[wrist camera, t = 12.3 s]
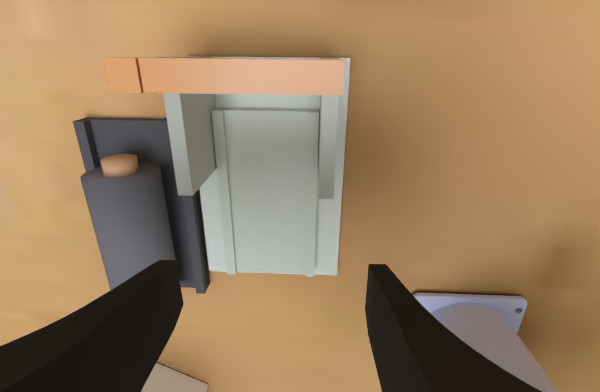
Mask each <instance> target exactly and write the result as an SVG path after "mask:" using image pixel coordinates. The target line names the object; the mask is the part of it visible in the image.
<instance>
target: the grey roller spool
mask: <svg viewBox="0 0 600 392" xmlns="http://www.w3.org/2000/svg"><path fill="white" fill-rule="evenodd" d="M101 165H102V166H101V167H98V168H95V169H92V170H90V171H88V172H86V173H84V174H83V175H82V176H81V178H80V179H81V182H82V186H83V190H84V194H85V197H86V201H87V205H88V208H89V212H90V216H91V219H92V223H93V227H94V230H95V234H96V238H97V241H98V245H99V249H100V252H101V256H102V260H103V264H104V267H105V271H106V275H107V278H108V282H109V286H110V289H111V290H112V289H114V288H116V287H117V286H119V285H120V284H122V283H123V282H125V281H126V280H128V279H130V278H131V277H133V276H134V275H136V274H137V273H139V272H140V271H142V270H143V269H145V268H147V267H148V266H150V265H151V264H153V263H155V262H157V261H159V260H175V261H176V259H175V253H174V247H173V241H172V235H171V229H170V223H169V217H168V211H167V205H166V199H165V194H164V188H163V182H162V176H161V170H160V166H159V165H157V164H154V163H150V162H138V160H137V156H136V155H133V154H119V155H112V156H108V157H105V158H103V159H101ZM176 266H177V265H176Z"/></svg>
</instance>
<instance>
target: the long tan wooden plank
mask: <svg viewBox="0 0 600 392" xmlns="http://www.w3.org/2000/svg"><path fill="white" fill-rule="evenodd" d="M103 62H104V67H105V72H106V77H107V81H108V86H109V91H110V92H112V93H143V92H144V93H190V94H267V95H343V90H344V72H345V60H343V59H237V58H122V57H120V58H103Z"/></svg>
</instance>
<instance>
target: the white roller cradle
mask: <svg viewBox="0 0 600 392" xmlns="http://www.w3.org/2000/svg"><path fill="white" fill-rule="evenodd" d="M158 58H237V59H343V60H345V72H344V90H343V95H267V94H190V93H163V97H164V103H165V110H166V117H167V124H168V130H169V137H170V144H171V151H172V157H173V164H174V171H175V178H176V184H177V191H178V195H187V196H193V195H194V194H195V193H196V191H197V190H198V189H199V188H200V197H201V205H202V213H203V222H204V230H205V239H206V247H207V255H208V264H209V271H224V272H227V274H236V272H253V273H282V274H305V277H314V275H337V267H338V251H339V235H340V219H341V203H342V187H343V171H344V155H345V138H346V122H347V106H348V90H349V74H350V58H328V57H210V56H184V57H158Z"/></svg>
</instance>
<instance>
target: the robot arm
mask: <svg viewBox="0 0 600 392" xmlns="http://www.w3.org/2000/svg"><path fill="white" fill-rule="evenodd" d="M527 304H528V303H527V301H526V300H525V298H523V297H521V296H501V295H473V294H446V293H415V294H414V295H412V294H411V293H410V292H409V291H408V290H407V288H406V287H405V286H404V285H403V284H402V283H401V282H400V280H399V279H398V278H397V277H396V276H395V274H394V273H393V272H392V271H391V270H390V268H389V267H388V266H387V265H386V264H369V269H368V281H367V293H366V305H365V311H366V320H367V328H368V335H369V339H370V344H371V348H372V352H373V356H374V360H375V364H376V368H377V372H378V376H379V380H380V384H381V388H382V392H558V390H557V389H556V388H555V386H554V385H553V383H552V382H551V381H550V379H549V378H548V377H547V375H546V374H545V372H544V371H543V370H542V368H541V367H540V365H539V364H538V363H537V361H536V360H535V358H534V357H533V356H532V354H531V353H530V351H529V350H528V349H527V347H526V346H525V344H524V343H523V342H522V340H521V339H520V337H519V336H518V335H517V333H518V330H519V328H520V325H521V322H522V319H523V316H524V313H525V310H526V308H527ZM182 307H183V299H182V293H181V288H180V282H179V277H178V271H177V266H176V261H175V260H159V261H157V262H155V263H153V264H151V265H150V266H148V267H147V268H145V269H143V270H142V271H140V272H139V273H137V274H136V275H134V276H133V277H131V278H130V279H128V280H126V281H125V282H123V283H122V284H120V285H119V286H117V287H116V288H114V289H112V290H111V291H109V292H108V293H106V294H104V295H102V296H101V297H99V298H97V299H96V300H94V301H92V302H91V303H89V304H87V305H86V306H84V307H82V308H80V309H79V310H77V311H75V312H73V313H71V314H69V315H68V316H66V317H64V318H62V319H60V320H58V321H56V322H54V323H52V324H50V325H48V326H46V327H43V328H41V329H39V330H37V331H35V332H32V333H30V334H28V335H25V336H23V337H21V338H19V339H16V340H14V341H12V342H10V343H7V344H5V345H2V346H0V392H141V391H142V389H143V387H144V385H145V383H146V381H147V379H148V377H149V375H150V373H151V372H152V370H153V368H154V366H155V364H156V362H157V360H158V359H159V357H160V355H161V353H162V351H163V349H164V347H165V345H166V344H167V342H168V340H169V338H170V336H171V334H172V332H173V330H174V328H175V325H176V323H177V320H178V318H179V315H180V312H181V309H182ZM517 308H518V309H517Z"/></svg>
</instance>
